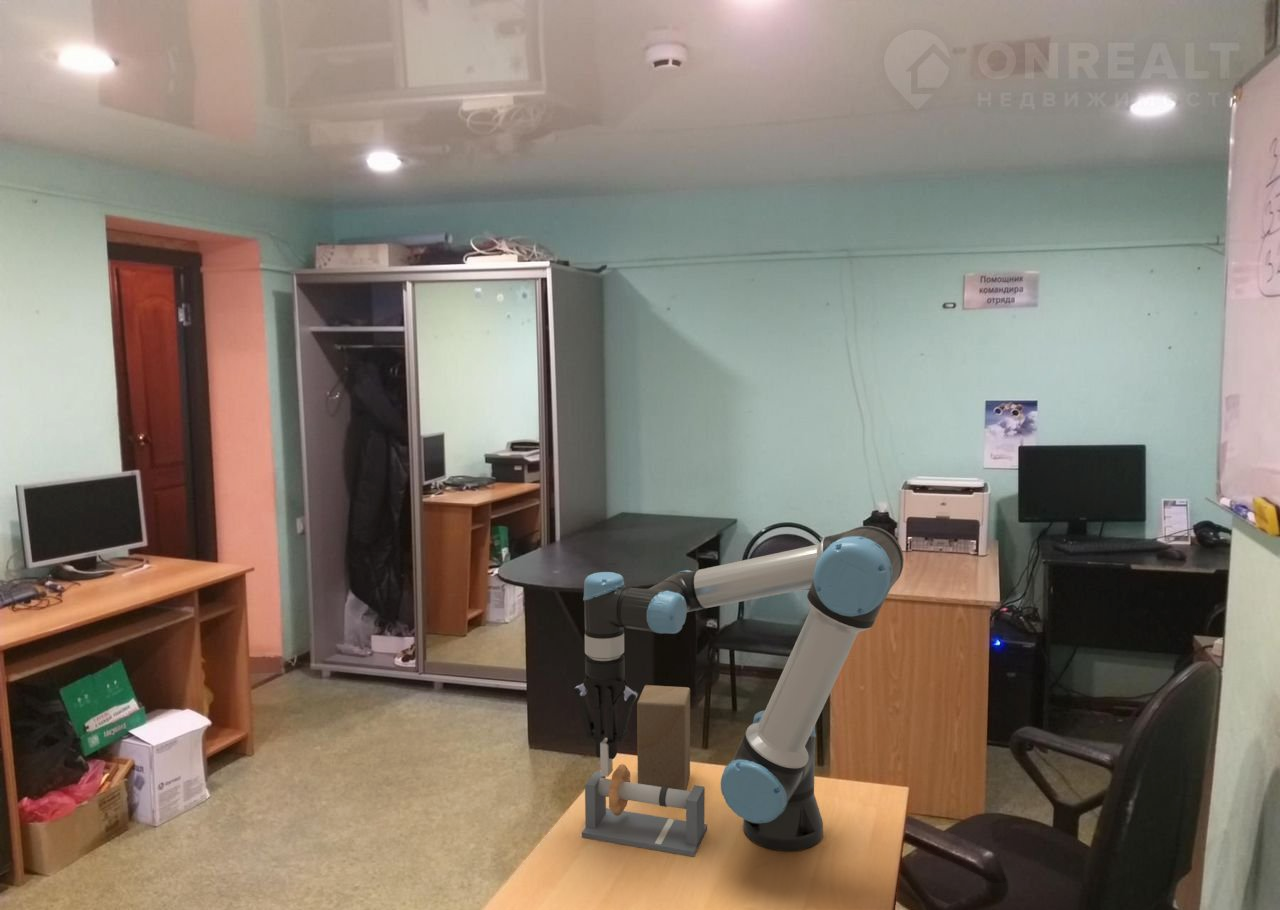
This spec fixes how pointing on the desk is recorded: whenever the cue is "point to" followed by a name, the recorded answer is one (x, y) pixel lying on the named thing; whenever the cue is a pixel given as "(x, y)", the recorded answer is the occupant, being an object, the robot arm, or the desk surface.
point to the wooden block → (664, 736)
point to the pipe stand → (645, 817)
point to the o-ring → (617, 777)
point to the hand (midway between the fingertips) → (606, 773)
